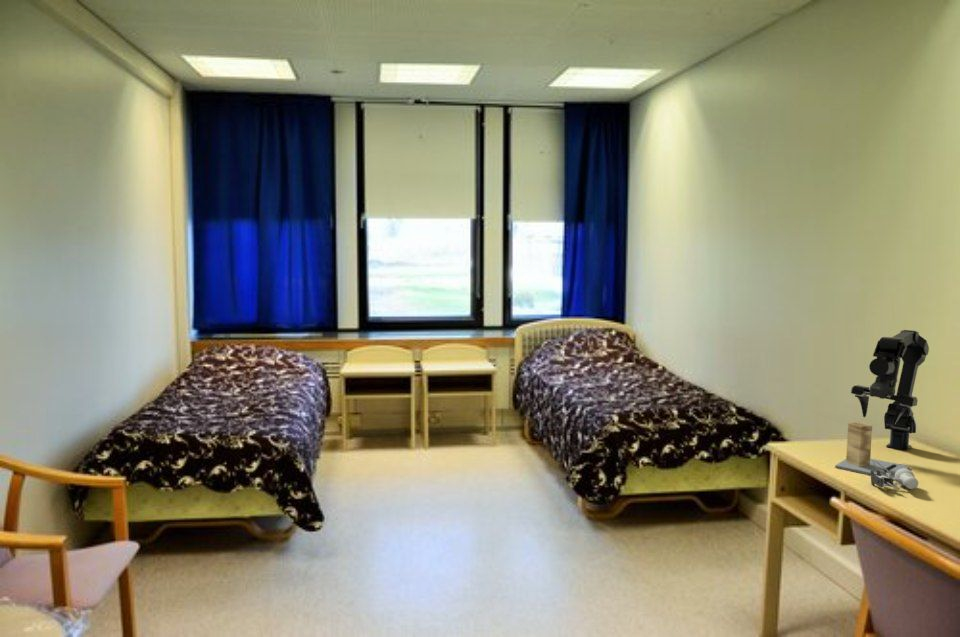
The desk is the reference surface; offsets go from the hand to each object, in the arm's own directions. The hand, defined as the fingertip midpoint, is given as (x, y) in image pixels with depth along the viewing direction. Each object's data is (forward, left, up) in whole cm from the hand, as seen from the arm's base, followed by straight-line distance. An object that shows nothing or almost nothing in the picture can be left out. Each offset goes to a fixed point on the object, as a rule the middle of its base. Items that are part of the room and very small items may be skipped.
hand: (879, 420), depth 233 cm
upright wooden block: (+15, -1, -12) cm, 19 cm away
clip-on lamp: (+26, +11, -12) cm, 31 cm away
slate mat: (+14, +3, -13) cm, 19 cm away
